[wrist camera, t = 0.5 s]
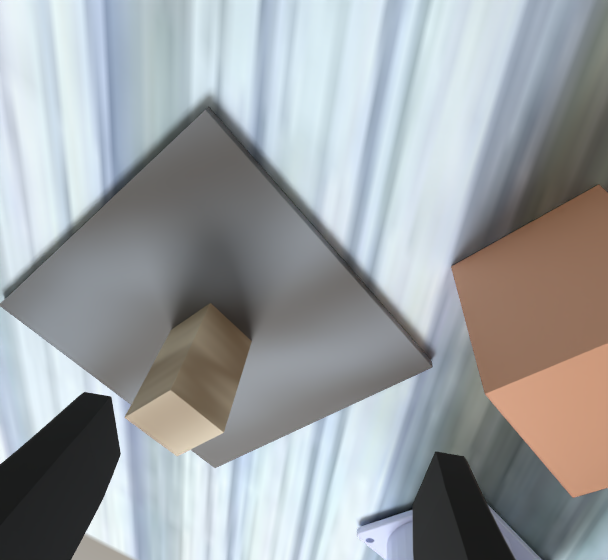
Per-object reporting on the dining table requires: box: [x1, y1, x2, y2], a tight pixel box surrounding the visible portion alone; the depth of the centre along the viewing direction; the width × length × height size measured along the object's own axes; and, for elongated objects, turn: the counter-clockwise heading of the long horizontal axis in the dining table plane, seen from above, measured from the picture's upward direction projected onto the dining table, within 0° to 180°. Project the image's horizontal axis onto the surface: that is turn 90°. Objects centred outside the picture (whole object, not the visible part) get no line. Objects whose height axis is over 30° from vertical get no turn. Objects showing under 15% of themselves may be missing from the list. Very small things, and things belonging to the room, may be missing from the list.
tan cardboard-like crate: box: [451, 185, 608, 498], centre depth 16 cm, size 6×6×7 cm
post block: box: [0, 107, 433, 468], centre depth 20 cm, size 14×14×5 cm
